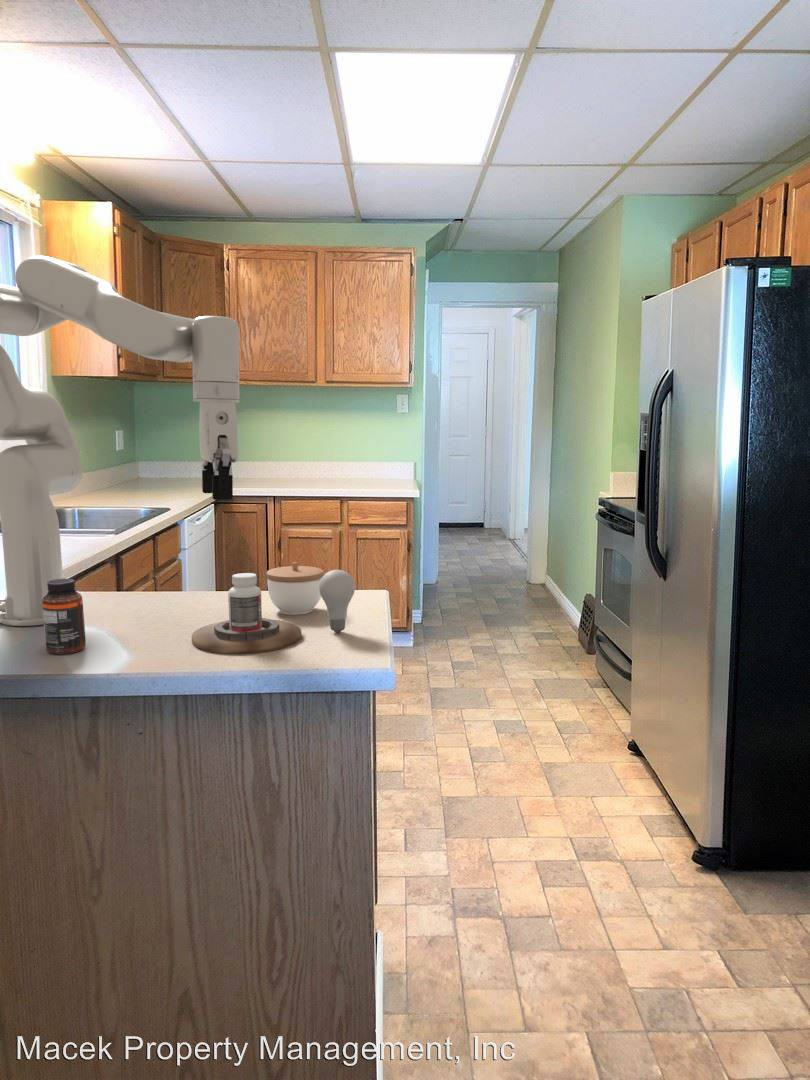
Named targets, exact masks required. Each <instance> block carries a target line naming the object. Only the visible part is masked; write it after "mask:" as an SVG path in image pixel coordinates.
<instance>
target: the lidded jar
mask: <svg viewBox="0 0 810 1080" xmlns="http://www.w3.org/2000/svg"><path fill="white" fill-rule="evenodd" d="M291 564H292V565H291V566H290V565H289V566H288V565H287V566H279V567H274V568H271V569H269V570H267V571H266V578H267V579H266V581H267V590H268V591H267V592H268V595H269V599H270V601H271V603H272V604H273V606H274V607H275V608H277V609H278V610H279V612H280V613H281V614H283V615H289V616H291V615H292V616H295V615H296V616H297V615H299V616H300V615H306V614H309V613H311V612H313V609H314V608H315V607H316V606H317V605H318V604H319V602H320V600H321V598H322V597H321V594H320V591H319V584H320V581H321V579H322V577H323V576H324V575H325V572H324V569H322V568H319V567H315V566H310V565H309V566H306V565H299V562H297V561H294V562H291Z"/></svg>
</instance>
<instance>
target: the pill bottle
mask: <svg viewBox="0 0 810 1080" xmlns="http://www.w3.org/2000/svg"><path fill="white" fill-rule="evenodd" d="M257 578H258V577H257V574H256V573H253V572H246V573H245V572H242V573H236V574H232V577H231V579H232V580H231V583H232V586H233V587H231V588H230V589H228V594H227V596H228V597H227V598H228V600H227V601H228V620H229V627H230V631H233V632H250V631H259V630H262V618H263V613H262V611H263V610H262V590H261V589H260V587H258V586H256V584H257V582H258V579H257Z"/></svg>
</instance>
